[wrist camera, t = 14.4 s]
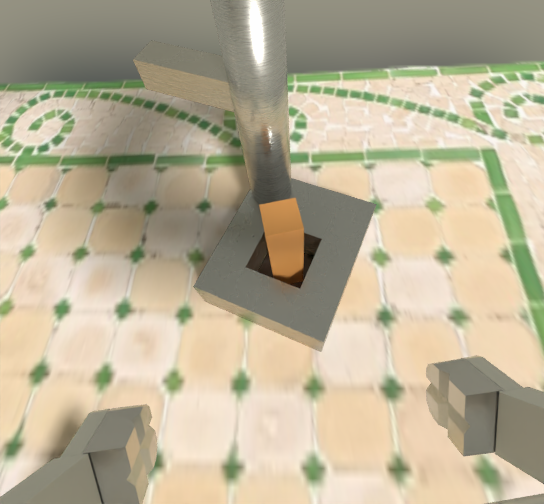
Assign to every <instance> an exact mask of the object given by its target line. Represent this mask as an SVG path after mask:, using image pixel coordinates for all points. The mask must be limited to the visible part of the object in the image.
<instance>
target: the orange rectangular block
mask: <svg viewBox="0 0 544 504" xmlns="http://www.w3.org/2000/svg"><path fill="white" fill-rule="evenodd" d="M259 206H260V212H261V217H262V222H263V227H264V232H265V238H266V243H267V248H268V253H269V258H270V264H271V268H272V273H273V278H274V279H277V280H279V281H282V282H284V283H287V284H292V283H297V282H302V281H303V262H304V227H303V223H302V219H301V216H300V212H299V208H298V204H297V201H296V198H291V199H286V200H281V201H276V202H271V203H266V204H261V205H259Z"/></svg>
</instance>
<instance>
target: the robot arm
mask: <svg viewBox="0 0 544 504" xmlns="http://www.w3.org/2000/svg"><path fill="white" fill-rule="evenodd" d="M426 377H427V378H428V379H429V381H430V382H431V384H430V385H429V387H428V388H427V390H426V400H427V404H428V407H429V411H430V413H431V414H432V416H433V418H434V419H435V421H436V422H437V423H438V425H440V426H442V427H444V428H446V429H448V438H449V439H450V440H451V441H452V443H453V444H454V445H455V446H456V448H457V449H458V450H459V452H460V453H461V454H462V455H463V456H470V455H478V454H486V453H494V452H495V454H496V455H498V456H499V457H501V458H503V459H504V460H506V461H507V462H509V463H511V464H512V465H514V466H515V467H517V468H519V469H520V470H522V471H524V472H525V473H527V474H528V475H530V476H532V477H533V478H535V479H536V480H538V481H540V482H541V483H543V484H544V392H542V391H539V390H536V389H533V388H530V387H526V388H523V387H522V386H520V385H519V384H518V383H516V382H515V381H514V380H512V379H511V378H510V377H508V376H507V375H506V374H504V373H503V372H502V371H500V370H499V369H498V368H496V367H495V366H494V365H492V364H491V363H490V362H488V361H487V360H486V359H485V358H483V357H481V356H472V357H466V358H461V359H457V360H451V361H445V362H438V363H432V364H428V366H427V369H426ZM151 418H152V415H151V411H150V407H149V406H148V405H147V404H145V405H137V406H128V407H120V408H112V409H105V410H98V411H93V412H91V413H89V414H88V416H87V417H86V419H85V420H84V422H83V423H82V425H81V426H80V428H79V429H78V431H77V432H76V434H75V435H74V437H73V438H72V440H71V441H70V443H69V444H68V446H67V447H66V449H65V450H64V452H63V453H62V455H61V456H60V458H55V459H52V460H51V461H50V462H48V463H47V464H45V465H44V466H43V467H41V468H40V469H39V470H37V471H36V472H34V473H33V474H32V475H30V476H29V477H27V478H26V479H25V480H23V481H22V482H21V483H19V484H18V485H16V486H15V487H14V488H12V489H11V490H9V491H8V492H7V493H5V494H4V495H2V496H1V497H0V504H142V503H143V500H144V497H145V493H146V490H147V487H148V484H149V483H148V479H147V474H148V473H149V472H150V471H151V470H152V469H153V468H154V464H155V461H156V455H157V437H156V432H155V430H154V429H153V428H152V427H150V426H149V424H150V421H151ZM486 504H544V494H538V495H533V496H527V497H521V498H515V499H510V500H504V501H498V502H492V503H486Z"/></svg>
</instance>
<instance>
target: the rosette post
mask: <svg viewBox="0 0 544 504" xmlns="http://www.w3.org/2000/svg"><path fill="white" fill-rule="evenodd" d="M210 1H211V6H212V10H213V15H214V20H215V25H216V29H217V34H218V39H219V43H220V48H221V52H222V56H220V55H216V54H211V53H207V52H202V51H197V50H193V49H188V48H183V47H179V46H174V45H170V44H165V43H161V42H156V41H150V42H149V43H148V44H147V45H146V47H144V48H143V50H142V51H140V53H139V54H138V55H137V56H136V57H135V58H134V59H133V61H134V63H135V65H136V68H137V70H138V72H139V74H140V76H141V78H142V81H143V83H144V85H145V87H146V89H148V90H152V91H156V92H160V93H164V94H167V95H171V96H175V97H179V98H183V99H186V100H190V101H194V102H198V103H202V104H205V105H209V106H213V107H217V108H220V109H224V110H228V111H232V112H234V113H235V118H236V123H237V127H238V132H239V137H240V141H241V146H242V151H243V155H244V160H245V165H246V169H247V174H248V179H249V183H250V188H251V189H250V190H249V192H248V194H247V196H246V197H245V199H244V201H243V202H242V204H241V206H240V208H239V209H238V211H237V213H236V214H235V216H234V218H233V220H232V221H231V223H230V225H229V226H228V228H227V230H226V232H225V233H224V235H223V237H222V238H221V240H220V242H219V244H218V245H217V247H216V249H215V250H214V252H213V254H212V256H211V257H210V259H209V261H208V262H207V264H206V266H205V268H204V269H203V271H202V273H201V274H200V276H199V278H198V280H197V281H196V283H195V285H194V286H193V287H194V288H195V289H196V290H197V292H198V293H199V294H200V295H201V297H202V298H203V299H204V300H205V301H206V302H208V303H210V304H212V305H215V306H217V307H219V308H222V309H224V310H226V311H228V312H231V313H233V314H235V315H238V316H240V317H242V318H244V319H247V320H249V321H251V322H254V323H256V324H258V325H260V326H263V327H265V328H267V329H270V330H272V331H274V332H276V333H279V334H281V335H283V336H286V337H288V338H290V339H292V340H295V341H297V342H299V343H302V344H304V345H306V346H308V347H311V348H313V349H315V350H318V351H320V352H321V351H322V348H323V346H324V343H325V341H326V338H327V335H328V333H329V330H330V327H331V325H332V322H333V319H334V317H335V314H336V311H337V309H338V306H339V304H340V301H341V298H342V296H343V293H344V290H345V288H346V285H347V282H348V280H349V277H350V275H351V272H352V269H353V267H354V264H355V261H356V259H357V256H358V253H359V251H360V248H361V245H362V243H363V240H364V238H365V235H366V232H367V230H368V227H369V224H370V221H371V218H372V216H373V213H374V210H375V207H376V204H374V203H370V202H367V201H364V200H361V199H357V198H354V197H351V196H348V195H344V194H341V193H338V192H334V191H331V190H328V189H325V188H321V187H318V186H315V185H312V184H308V183H305V182H302V181H298V180H295V179H292V178H291V163H290V137H289V111H288V86H287V61H286V36H285V9H284V0H210ZM291 198H296V201H297V204H298V208H299V212H300V216H301V219H302V223H303V227H304V253H307V254H309V255H312V256H314V258H313V260H312V263H311V265H310V267H309V270H308V272H307V274H306V276H305V279H304V281H303V283H302V285H301V288H297V287H294V286H292V285H289V284H287V283H284V282H282V281H279V280H277V279H274V278H272V277H269V276H267V275H264V274H261V273H259V272H258V270H259V268H260V266H261V264H262V262H263V260H264V258H265V256H266V254H267V252H268V248H267V243H266V238H265V232H264V227H263V222H262V217H261V212H260V206H259V205H261V204H266V203H271V202H276V201H281V200H286V199H291Z"/></svg>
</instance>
